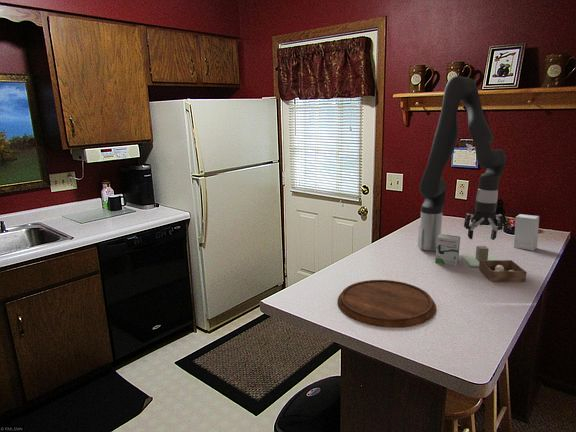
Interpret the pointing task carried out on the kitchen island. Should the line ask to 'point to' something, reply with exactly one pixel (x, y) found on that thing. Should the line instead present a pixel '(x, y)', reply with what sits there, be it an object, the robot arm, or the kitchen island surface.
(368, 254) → the kitchen island surface
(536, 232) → the skincare box
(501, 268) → the bead
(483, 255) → the lid
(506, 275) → the box
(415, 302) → the cutting board
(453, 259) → the ink box
